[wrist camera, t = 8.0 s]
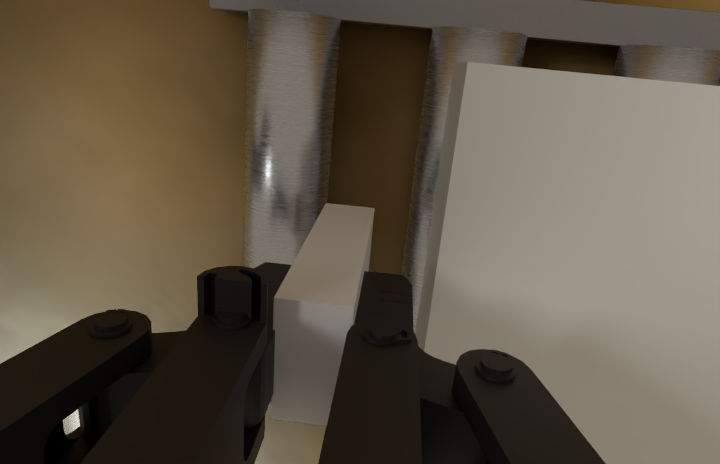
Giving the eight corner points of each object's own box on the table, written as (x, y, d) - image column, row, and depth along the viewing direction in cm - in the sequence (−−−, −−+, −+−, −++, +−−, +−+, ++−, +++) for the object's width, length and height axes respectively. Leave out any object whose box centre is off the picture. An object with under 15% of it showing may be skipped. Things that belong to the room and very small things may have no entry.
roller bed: (919, 468, 21) (997, 530, 19) (220, 373, 23) (193, 416, 20) (1148, 55, 16) (1304, 53, 13) (221, -26, 18) (186, -43, 15)
